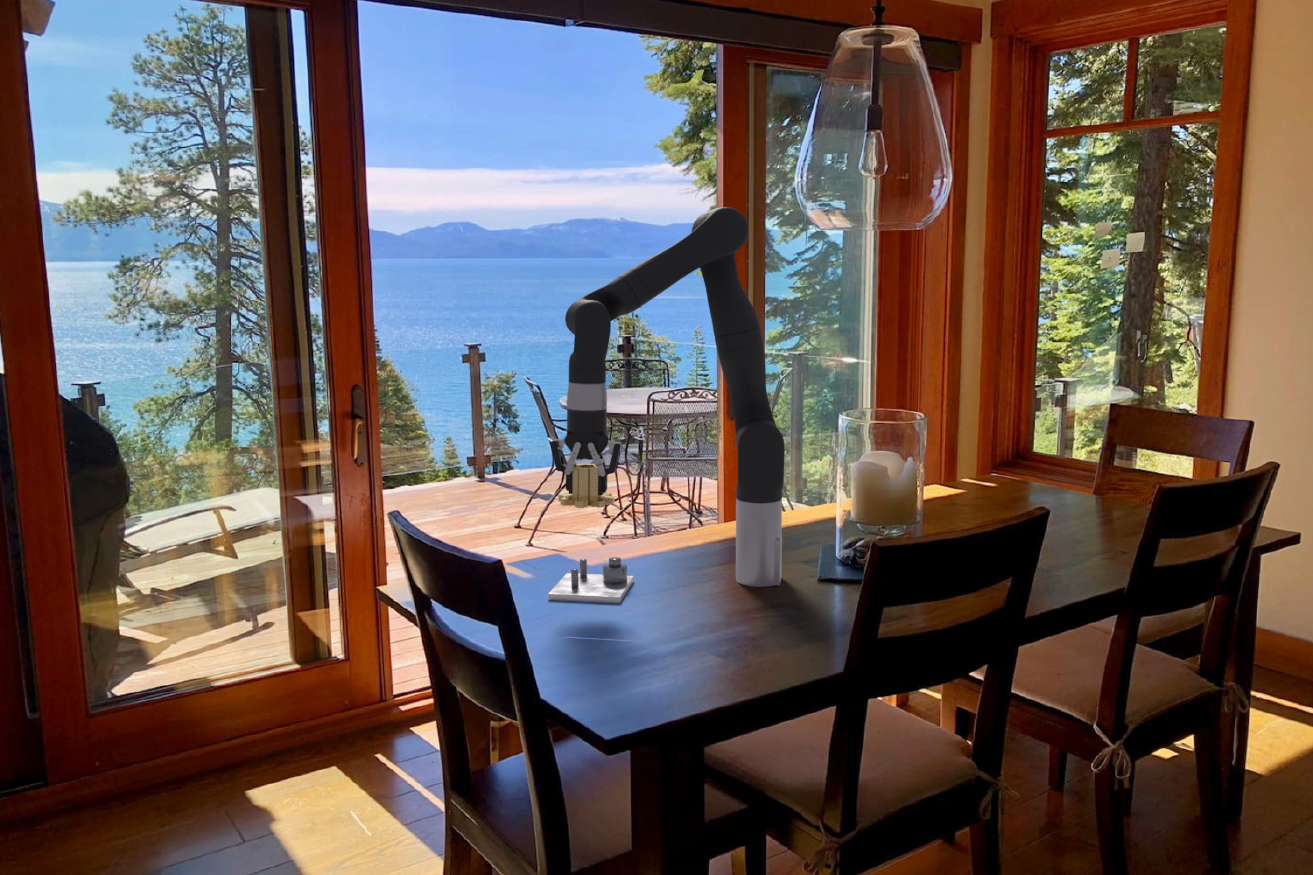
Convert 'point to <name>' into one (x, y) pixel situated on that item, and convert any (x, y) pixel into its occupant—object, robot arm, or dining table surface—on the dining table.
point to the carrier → (594, 584)
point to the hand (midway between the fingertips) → (586, 493)
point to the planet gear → (585, 488)
